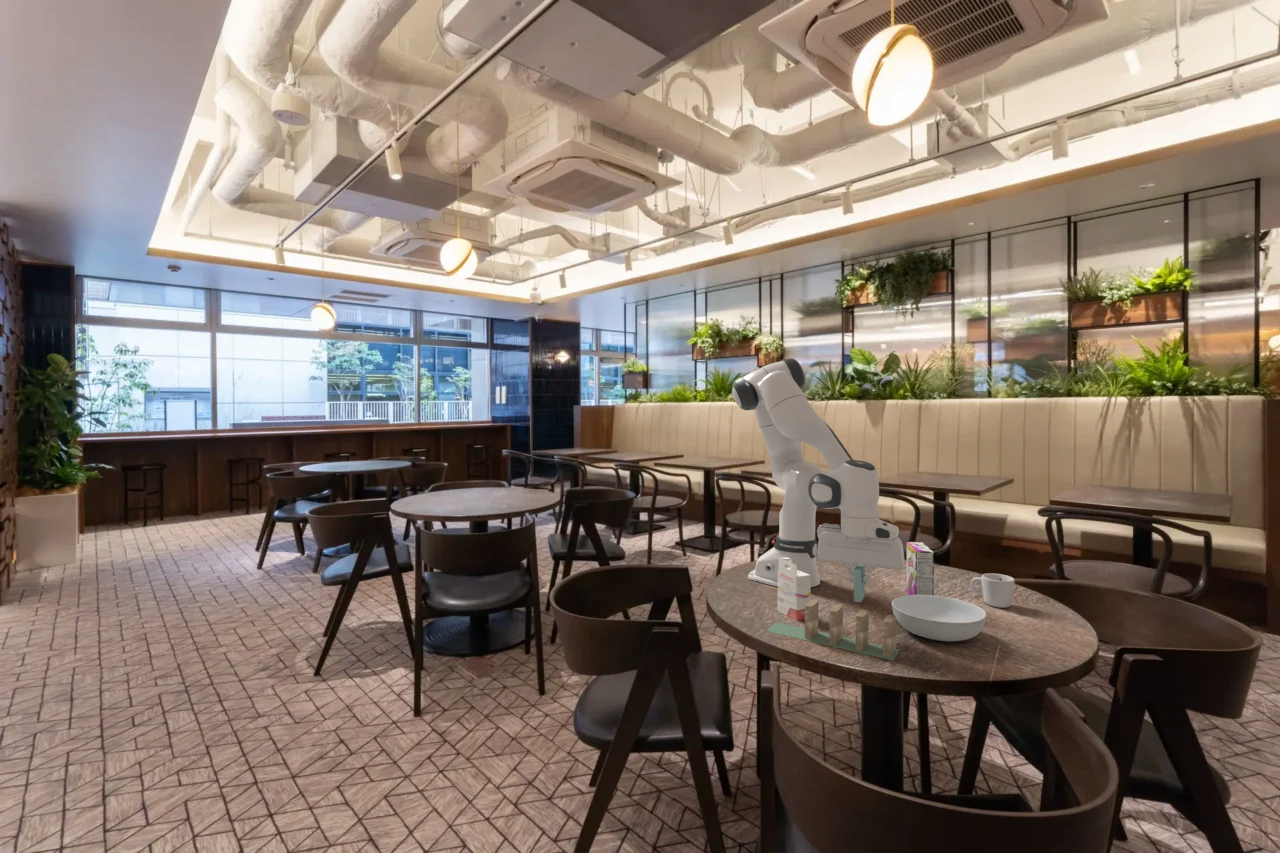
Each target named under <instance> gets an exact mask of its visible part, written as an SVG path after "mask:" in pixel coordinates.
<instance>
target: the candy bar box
mask: <svg viewBox="0 0 1280 853" xmlns="http://www.w3.org/2000/svg"><path fill="white" fill-rule="evenodd" d="M934 556H935V552H934V550H932V549H931V548H930V547H929V546H928V545H927V544H926V543H924V542H920V541H919V542H917V541H907V542H906V595H905V596H907V595H934V587H935V586H934V584H935V582H934V580H935V579H934V576H935V575H934V574H935V573H934V570H935V566H934V565H935V564H934V563H935V558H934ZM934 596H935V595H934Z"/></svg>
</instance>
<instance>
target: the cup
mask: <svg viewBox="0 0 1280 853" xmlns="http://www.w3.org/2000/svg"><path fill="white" fill-rule="evenodd" d="M975 582H979V583H980V586H981V589H980V590H978V589H976V587H975ZM1015 582H1016V581H1015V578H1013V577H1012V576H1010V575H1007V574H1006V575H1005V574H1001V573H993V572H992V573H991V572H990V573H989V572H988V573H982V575H981V577H978V576H976V577H974V578H972V579H971V580H970V589H971V591H972V592H974V593H975V594H977V595H981V596H983V597H982V598H983V600H984V603H985V604H986V605H988V606H991V607H994V608H998V609H999V608H1000V609H1002V608H1003V609H1006V608H1009V607H1010V606H1011V605H1012V602H1013V595H1014V588H1015Z"/></svg>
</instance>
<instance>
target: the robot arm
mask: <svg viewBox="0 0 1280 853" xmlns="http://www.w3.org/2000/svg"><path fill="white" fill-rule="evenodd" d="M803 368H804V367H802V365H801V363H799V361H798V360H796V359H794V358H792V357H791V358H790V357H789V358H784V359H781V360H780V361H776V362H774V363H773V362H772V363H769V364H766V365H764V366H761V367H760V368H757V369H756V370H754V371H752V372H749V373H748V374H746V375H744V376H742V375H741V376H740V377H739V378H736V379H735V380H733V383H732V385H731V388H732V389H731V393H732V398H733V400H734V402H735V403H736V405H738V407H739V408H740V409H741V410H744V411H752V410H754V414H755V418H756V421H757V423H758V427H759V430H760V432H761V434H762V435H761V436H762V438H763V441H764V443H765V446H766V449H767V452H768V456H769V462H770V467H771V471H772V472H771V473H772V474H771V476H772V478H773V481H774V483H775V484H776V485H777V487H779V489H781V490H783V491H784V498H783V502H782V507H781V509H780V511H779V515H778V516H779V517H778V518H779V521H778V522H779V523H778V525H779V529H778V534H777V535H776V537H774V538H773V539H772V540H771V544H773V547H772V548H770V549H769V550H768V551H766V552H765V553H763V554H761V555H760V556H759V557H758V558H757V560H756V562H755V567H754V569H753V570H751V571H750V572H749V573H748V575H747V576H748V577H747V578H748V580H750V581H754V582H757V581H758V583H762V584H767V585H770V586H774V587H777V588H778V565H779V559H782V560H785V561H788V562H790V563H792V564H795V565H797V570H799V571H801V572H804V573H806V574H809V575H811V588H813V587H814V588H815V587H818V586H819V585H820V584H821V581H820V577H819V573H818V568H817V559H816V558H817V557H818V558H819V560H820V561H828V562H836V563H843V564H844V569H845V570H846V572H847V574H848V575H849V582H854V570H853V569H852V567H853V565H856V566H857V565H865V567H866V570H867V571H868V572H867V574H866V573H865V574H863V576H862V579H863V580H862V583H865V584H870V581H871V578H870V577H871V574H872V573H873V572H874V570H875V568H881V569H891V570H895V571H896V570H898V571H899V570H901V569H902V568H903V567H904V566H905V551H904V545H903V541H902V540H901V538H900V537H899V533H900V530H899V529H900V528H899V527H898V526H897V525H894V524H892V523H889V522H886V521H885V520H881V519H880V513H879V510H878V503H879V500H880V483H879V476H878V472H877V468H876V466H875V465H874V464H872V463H870V462H867V461H864V460H857V459H853V457H852V456H851V454H850V453H849V452H848V450H847V449H846V447H845V446H844V445H843V443H842V442H841V440H840V439H839V438H838V436H837V435H836V433H835V432H834V430H833V429H832V428H831V427H830V426H829V424H827V422H826V421H824V420H823V419H822V418H821V417H820V416H819V415H818V414H817V412H816V410H815V409H813V406H811V404H810V403H809V401H808V399H807V398H806V396H805V394H804V392H803V391H802V389H803V388H804V385H805V383H806V375H805V371H804V369H803ZM802 442H803V443H805V444H808V445H810V446H812V447H813V448H815V449H816V450H817V451H818V452H820V454H821V456H822V457H823V458H824V461H825V462H826V463H827V464H828V466H829V467H830V469H829V470H826V471H822V470H821V469H820V468H819V467H818V466H816V465H815V464H814V463H811V462H808V461H806V460H805V458H804V454H803V450H802ZM817 508H820V509H824V510H831V509H832V510H833V509H839V510H840V524H837V523H832V524H831V523H827V522H825V523H822V524H820V525H819V526H818V527H817V535H816V513H817ZM816 536H817V538H818V542H817V538H816ZM817 543H818V544H817ZM784 567H785V568H791V567H789V566H788V565H784Z"/></svg>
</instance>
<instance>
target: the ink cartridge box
mask: <svg viewBox="0 0 1280 853" xmlns="http://www.w3.org/2000/svg"><path fill="white" fill-rule="evenodd" d="M784 565H788V566H789V567H791V568H785V567H784ZM811 588H812V587H811V575H809V574H806V573H804V572H801V571H799V570H797V565H795V564H792V563H790V562H788V561H785V560H782V559H779V565H778V587H777V612H780V613H782V614H783V615H785V616H788V617H790V618H791V619H793V620H795V621H802V620H805V605H806V604H808V603H809V602H810V601H811V600H812V598H811Z"/></svg>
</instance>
